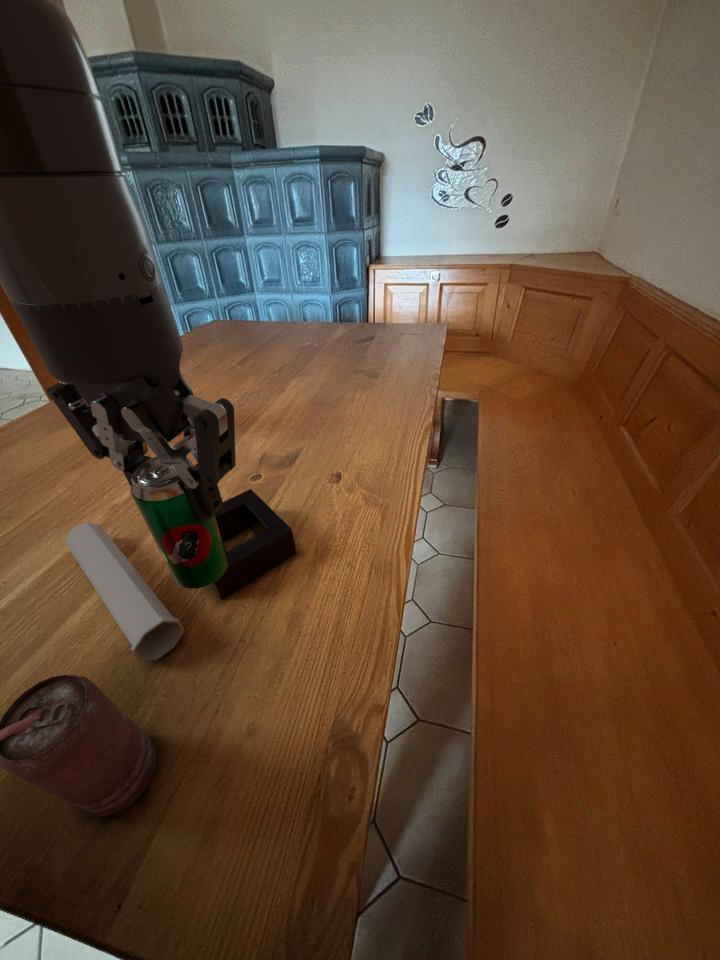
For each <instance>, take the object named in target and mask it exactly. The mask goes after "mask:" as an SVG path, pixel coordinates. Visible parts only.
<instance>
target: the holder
mask: <svg viewBox="0 0 720 960" xmlns="http://www.w3.org/2000/svg"><path fill="white" fill-rule="evenodd" d="M215 517H216V520H217V523H218V526H219V529H220V532H221V535H222V538H223V541H224V542H225V541H227V540H229V539H231V538H233V537H234V536H236V535H238V534H240V533H242V532H245V531H246V530H248V529H249V528H251V529H252V530H253V531H254V533H256V534H255V535H254V536H251V537H250V538H248V539H246V540H245V541H243V542H241V543H239V544H238V545H235V546H233V547H232V548H230V549H229V550H227V553H228V556H229V565H228V568H227V570H226V571H225V573H224V574H223V575H222V576H221V578H219V579H218V580H217V581H216V582H214V583H213V584H211V585H210V586H211V587H212V588H213V590H214V591H215V593H216V594H217V596H218V597H219V598H220V600H223V599H225V598H227V597H228V596H230V595H231V594H233V593H235V592H236V591H238V590H240V589H241V588H243V587H244V586H246V585H247V584H249V583H251V582H253V581H254V580H256V579H257V578H259V577H260V576H262V575H264V574H265V573H268V572H269V571H270V570H272V569H273V568H275V567H277V566H279V565H280V564H282V563H284V562H285V561H287V560H288V559H290V558H291V557H293V556H295V555H296V554H297V548H296V544H295V543H296V541H295V537H294V531H293V528H291V526H290V525H289V524H287V523H286V522H285V521H284V520H283V519H282V518H281V517H280V516H279V515H278V514H277V512H275V510H274V509H272V508H271V507H270V506H269V505H268V504H267V503H266V502H265V501H264V500H263V499H262V498H261V497H260V496H259V495H258V494H257V493H256V492H255V491H254V490H253V489H252V488H250V489H247V490H246V491H243V492H241V493H239V494H237V495H235V496H233V497H231V498H228V499H226V500H224V501H223V504H222V506H221V507H220V509H219V510H218V511H217V512H216V513H215Z"/></svg>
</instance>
